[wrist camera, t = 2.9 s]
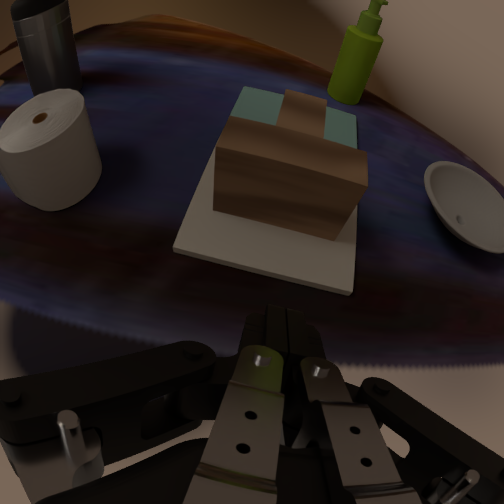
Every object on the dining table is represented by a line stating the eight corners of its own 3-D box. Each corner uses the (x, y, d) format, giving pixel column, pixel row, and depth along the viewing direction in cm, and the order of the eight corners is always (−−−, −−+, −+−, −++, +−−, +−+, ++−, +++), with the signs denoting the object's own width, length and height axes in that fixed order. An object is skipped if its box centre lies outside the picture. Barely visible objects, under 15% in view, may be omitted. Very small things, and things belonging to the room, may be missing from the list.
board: (348, 295, 31) (352, 292, 31) (173, 251, 31) (172, 246, 31) (354, 120, 46) (356, 115, 45) (243, 90, 46) (244, 85, 45)
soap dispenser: (335, 80, 52) (365, -12, 35) (364, 100, 50) (402, 6, 33) (316, 87, 50) (346, -14, 32) (347, 108, 48) (386, 4, 30)
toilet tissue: (118, 173, 36) (102, 107, 27) (40, 236, 30) (1, 178, 22) (78, 137, 38) (61, 79, 29) (10, 189, 33) (-21, 135, 24)
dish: (485, 202, 42) (502, 184, 38) (504, 280, 35) (526, 264, 31) (400, 169, 42) (416, 146, 38) (412, 255, 35) (435, 233, 31)
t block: (333, 241, 33) (368, 186, 25) (212, 210, 33) (215, 146, 25) (339, 166, 39) (364, 112, 31) (239, 140, 39) (247, 80, 31)
